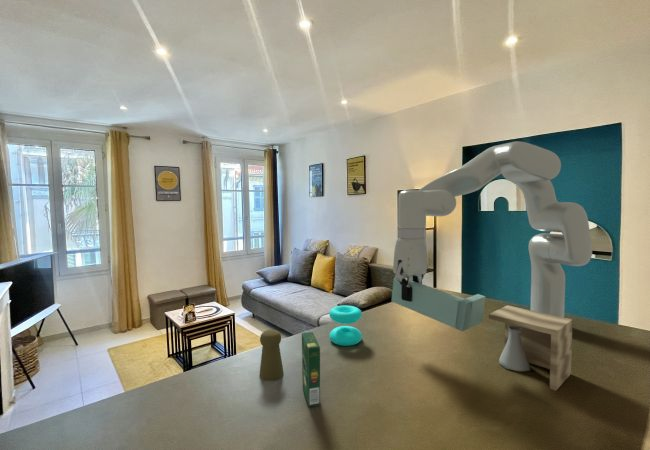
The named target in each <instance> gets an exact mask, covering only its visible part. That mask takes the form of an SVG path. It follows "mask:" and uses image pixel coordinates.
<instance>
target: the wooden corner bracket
mask: <svg viewBox="0 0 650 450" xmlns="http://www.w3.org/2000/svg"><path fill="white" fill-rule="evenodd" d="M488 319H489V320H493V321H497V322H500V323H504V346H505V345H506V343H507V341H508V337H509V330H508V326H518V327H520V328H522V332H521V336H520V337H521V343H522V346H523V349H524V352H525V355H526V357H527V360H528V363H529V364H532V365H535V366H538V367H540V368H541V367H542V368H545V369H547V370H549V389H550V390H552V391H555V392H556V391H558V390H559V388H560V387H561V386H562V385H563V383H564V382H565V381H566V380H567V379H569V377H570V375H571V374H572V351H573V350H572V349H573V318H568V317H565V316H564V317H559V316H555V315H550V314H545V313H541V312H536V311H532V310H530V309H526V308H522V307H517V306H513V305H508V304H507V305H505V306H503V307H501V308H498V309H497V310H494V311H493V312H490V313H488Z"/></svg>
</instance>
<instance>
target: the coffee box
mask: <svg viewBox="0 0 650 450" xmlns="http://www.w3.org/2000/svg"><path fill="white" fill-rule="evenodd" d="M301 361H302V362H301V363H302V364H301V368H302V369H301V371H302V372H301V373H302V375H301V376H302V389H303V392H304V396H305V399H306V403H307V407H308V408H310V407H318V406H321V346H320V343H319V342H318V340H317V338H316V335H315V334H314V332H313V331H308V332H302V333H301Z"/></svg>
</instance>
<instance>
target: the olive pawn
mask: <svg viewBox="0 0 650 450" xmlns="http://www.w3.org/2000/svg"><path fill="white" fill-rule="evenodd" d="M259 338H260V339H259V342H260V345H262V346H261V347H262V348H261V358H260V366H259V375H258V376H259V379H261V380H262V381H265V382H275V381H277V380H279V379H282V378H283V376H284V368H283V367H284V366H283V361H282V355H281V348H280V347H281V346H280V343H281V341H282V335H281V332H280V331H278V330H277V329H268V330H264V331H263V332H261V333H260V337H259Z"/></svg>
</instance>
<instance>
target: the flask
mask: <svg viewBox="0 0 650 450" xmlns="http://www.w3.org/2000/svg"><path fill="white" fill-rule="evenodd" d="M508 330H509V337H508V341H507V343H506V345H505V344H504V347H503V350H502V352H501V354H500V357H499V359H498V364H499V365H500V366H502V367H503V368H505V369H506V370H510V371H516V372H529V371H531V367H530V363H529V362H528V360H527V357H526V355H525V352H524V349H523V346H522V343H521V337H520V336H521V332H522V328H520V327H518V326H508Z"/></svg>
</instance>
